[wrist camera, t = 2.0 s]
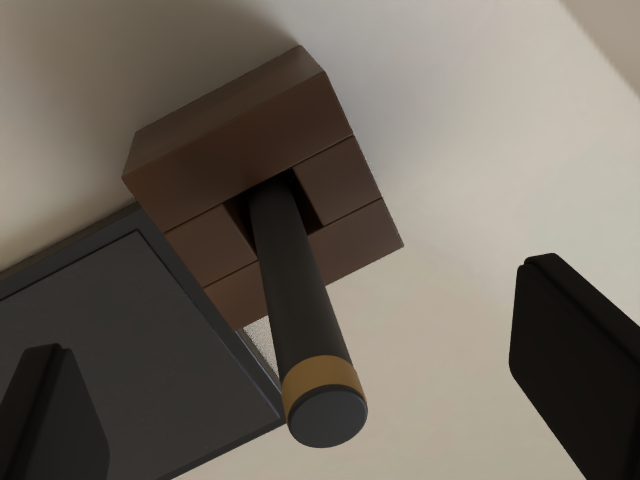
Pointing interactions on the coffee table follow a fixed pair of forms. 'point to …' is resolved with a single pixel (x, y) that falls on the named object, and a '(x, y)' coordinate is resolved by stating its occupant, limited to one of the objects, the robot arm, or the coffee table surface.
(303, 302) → the stylus
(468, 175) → the coffee table surface
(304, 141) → the holder
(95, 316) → the tablet
